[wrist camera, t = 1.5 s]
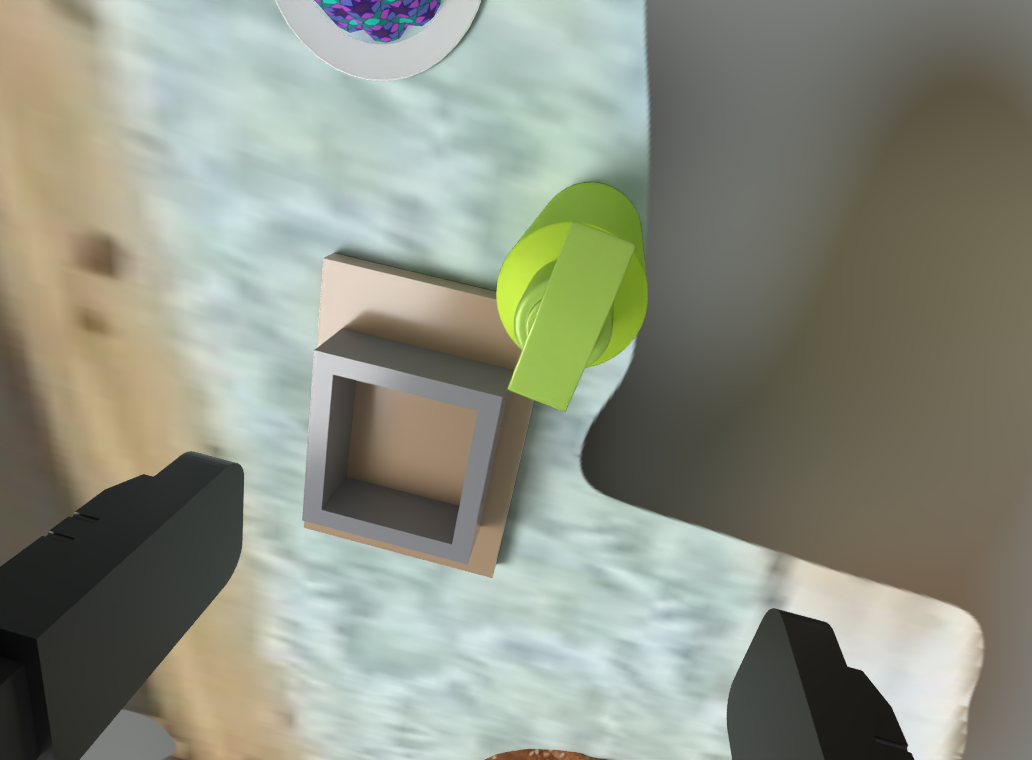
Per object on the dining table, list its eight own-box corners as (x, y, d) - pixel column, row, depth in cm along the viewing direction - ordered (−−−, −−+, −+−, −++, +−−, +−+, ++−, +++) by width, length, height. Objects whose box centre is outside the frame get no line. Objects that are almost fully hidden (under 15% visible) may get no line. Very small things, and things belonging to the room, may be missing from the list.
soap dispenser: (666, 186, 35) (707, 276, 17) (617, 300, 38) (606, 480, 20) (566, 147, 35) (500, 195, 17) (523, 264, 38) (429, 411, 20)
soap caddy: (333, 252, 40) (291, 274, 35) (556, 306, 39) (545, 336, 34) (313, 515, 48) (276, 563, 43) (496, 564, 47) (480, 618, 42)
